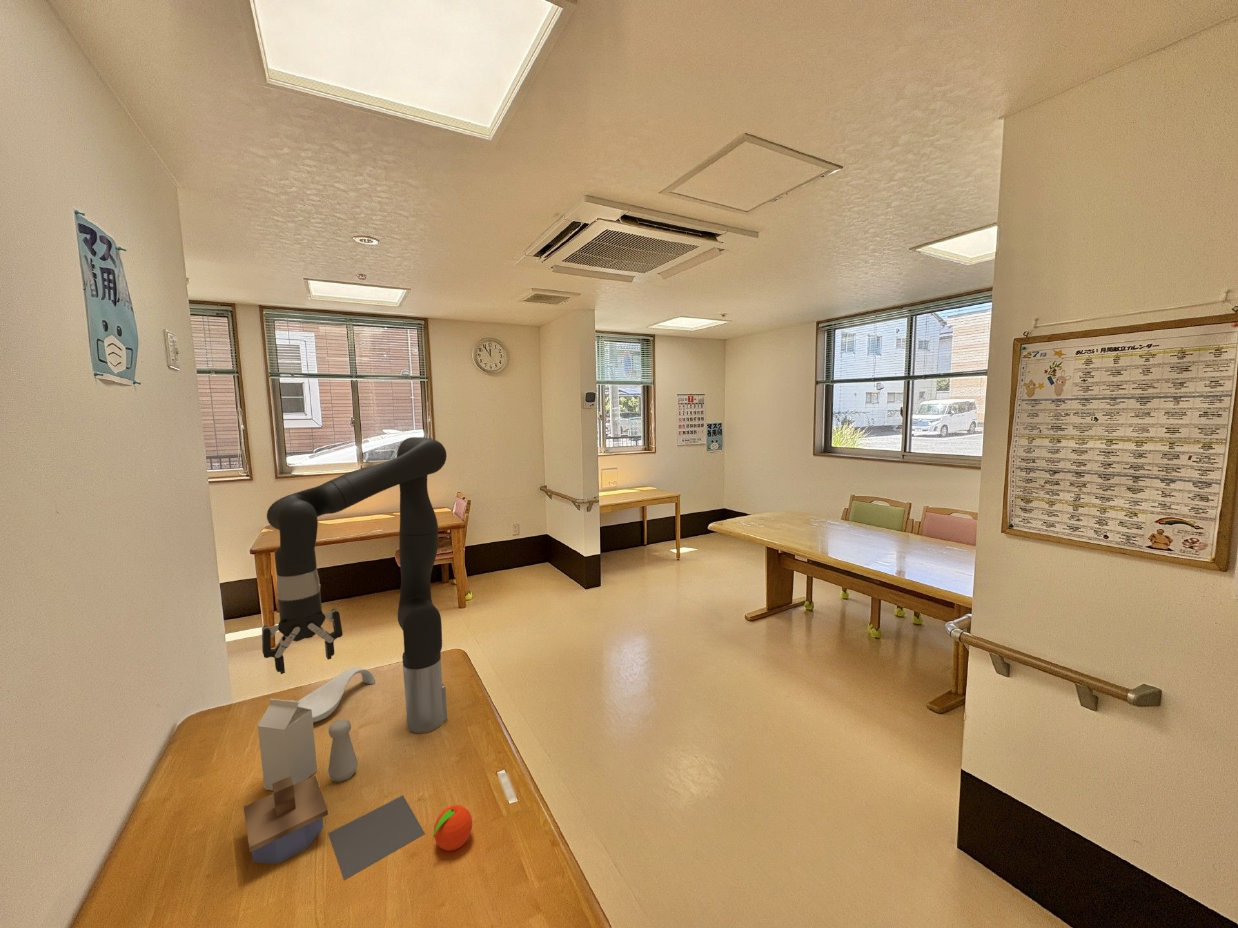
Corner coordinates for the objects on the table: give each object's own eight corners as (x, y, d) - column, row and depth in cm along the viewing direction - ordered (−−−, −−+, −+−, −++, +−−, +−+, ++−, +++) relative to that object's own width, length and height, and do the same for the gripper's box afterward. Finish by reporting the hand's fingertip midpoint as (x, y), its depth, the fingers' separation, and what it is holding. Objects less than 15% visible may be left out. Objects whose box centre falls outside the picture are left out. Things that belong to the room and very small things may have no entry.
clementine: (446, 871, 87) (444, 835, 87) (422, 853, 91) (419, 818, 90) (481, 838, 94) (479, 804, 93) (456, 822, 98) (454, 790, 97)
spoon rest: (313, 734, 126) (310, 708, 126) (280, 725, 130) (277, 700, 129) (384, 685, 149) (382, 662, 148) (354, 679, 152) (353, 657, 152)
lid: (315, 779, 103) (313, 753, 102) (327, 814, 94) (325, 785, 93) (244, 811, 95) (240, 782, 94) (249, 852, 86) (246, 820, 85)
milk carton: (291, 794, 106) (283, 711, 104) (264, 789, 108) (255, 708, 105) (317, 770, 113) (310, 692, 111) (291, 766, 114) (284, 689, 112)
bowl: (315, 806, 103) (313, 781, 102) (327, 840, 94) (324, 814, 94) (249, 837, 95) (246, 811, 95) (255, 877, 87) (252, 849, 86)
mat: (403, 797, 105) (403, 794, 104) (425, 836, 95) (425, 833, 95) (328, 835, 95) (328, 832, 95) (344, 883, 86) (344, 879, 86)
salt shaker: (328, 790, 107) (323, 734, 106) (329, 773, 112) (324, 719, 111) (358, 780, 110) (353, 726, 108) (358, 764, 115) (354, 712, 113)
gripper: (333, 579, 111) (339, 647, 113) (255, 596, 102) (263, 670, 104) (341, 588, 105) (347, 659, 107) (259, 606, 96) (267, 684, 98)
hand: (306, 664), depth 105 cm, fingers open, 8 cm apart
